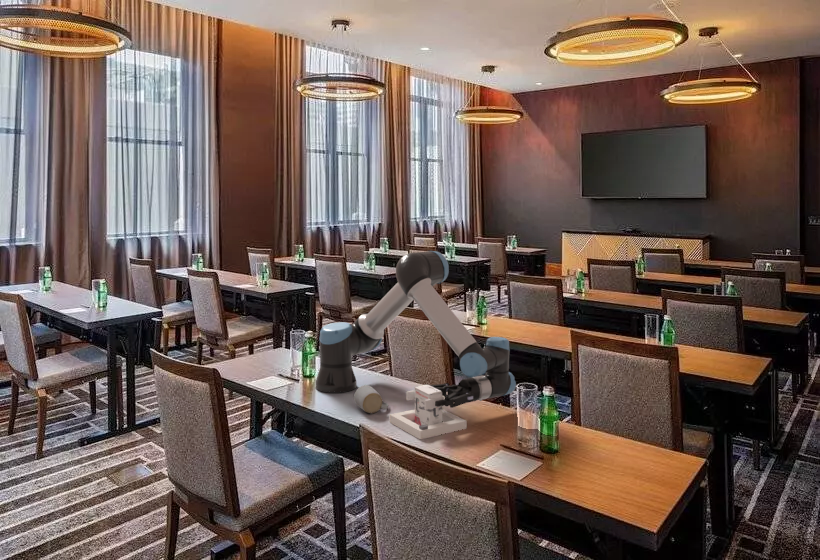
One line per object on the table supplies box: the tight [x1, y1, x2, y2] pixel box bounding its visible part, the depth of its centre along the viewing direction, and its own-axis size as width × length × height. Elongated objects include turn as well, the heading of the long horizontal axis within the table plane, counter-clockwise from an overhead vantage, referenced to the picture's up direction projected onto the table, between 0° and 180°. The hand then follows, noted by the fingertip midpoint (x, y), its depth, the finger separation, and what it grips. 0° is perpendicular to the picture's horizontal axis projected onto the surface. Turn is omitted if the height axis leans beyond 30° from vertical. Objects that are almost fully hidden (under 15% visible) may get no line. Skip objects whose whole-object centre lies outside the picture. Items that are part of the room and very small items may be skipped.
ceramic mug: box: [353, 384, 389, 414], centre depth 204 cm, size 11×8×8 cm
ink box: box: [414, 384, 443, 426], centre depth 190 cm, size 9×5×12 cm, turn 34°
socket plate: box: [389, 408, 468, 440], centre depth 191 cm, size 17×17×3 cm
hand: (415, 400), depth 187 cm, fingers open, 9 cm apart
